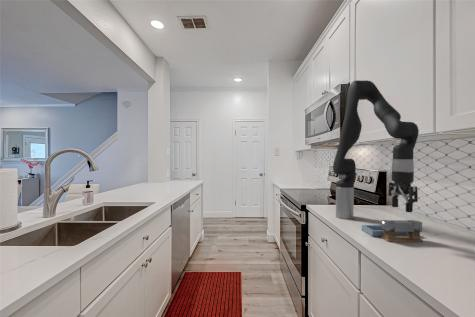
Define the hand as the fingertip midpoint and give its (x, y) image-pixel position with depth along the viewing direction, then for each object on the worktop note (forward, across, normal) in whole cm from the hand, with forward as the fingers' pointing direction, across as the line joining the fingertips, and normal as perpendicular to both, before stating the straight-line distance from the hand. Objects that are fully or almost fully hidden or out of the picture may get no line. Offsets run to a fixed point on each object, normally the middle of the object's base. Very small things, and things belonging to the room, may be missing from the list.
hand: (401, 209), depth 100 cm
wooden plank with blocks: (+12, 0, 0) cm, 13 cm away
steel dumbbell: (+8, 0, 0) cm, 9 cm away
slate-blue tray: (+13, -8, 0) cm, 15 cm away
